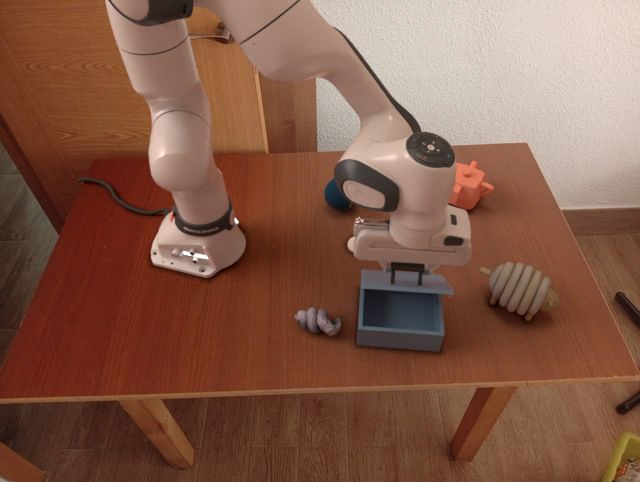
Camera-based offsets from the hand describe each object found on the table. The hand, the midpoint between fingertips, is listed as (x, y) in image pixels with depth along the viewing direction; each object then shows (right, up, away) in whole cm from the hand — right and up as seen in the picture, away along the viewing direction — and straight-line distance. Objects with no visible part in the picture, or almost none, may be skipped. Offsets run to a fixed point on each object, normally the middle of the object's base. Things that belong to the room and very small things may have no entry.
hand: (406, 271), depth 90 cm
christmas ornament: (-11, +15, +35) cm, 39 cm away
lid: (0, -3, +4) cm, 5 cm away
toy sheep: (+25, -8, +15) cm, 30 cm away
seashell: (-17, -13, +12) cm, 24 cm away
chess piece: (-7, +4, +26) cm, 27 cm away
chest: (0, -11, +13) cm, 17 cm away
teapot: (+20, +17, +35) cm, 44 cm away
